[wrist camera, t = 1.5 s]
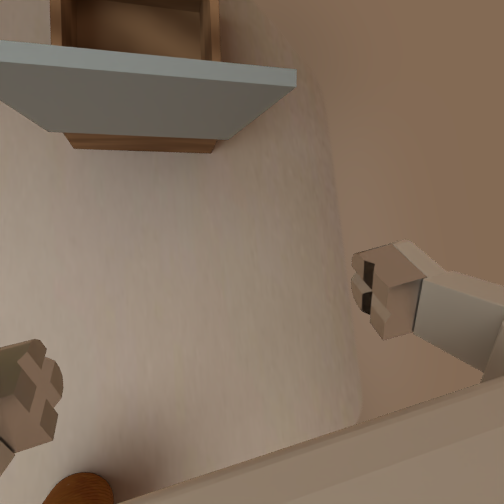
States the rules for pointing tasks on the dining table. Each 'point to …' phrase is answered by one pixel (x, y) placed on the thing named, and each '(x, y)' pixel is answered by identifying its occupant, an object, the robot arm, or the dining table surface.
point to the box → (139, 49)
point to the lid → (136, 91)
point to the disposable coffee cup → (81, 490)
